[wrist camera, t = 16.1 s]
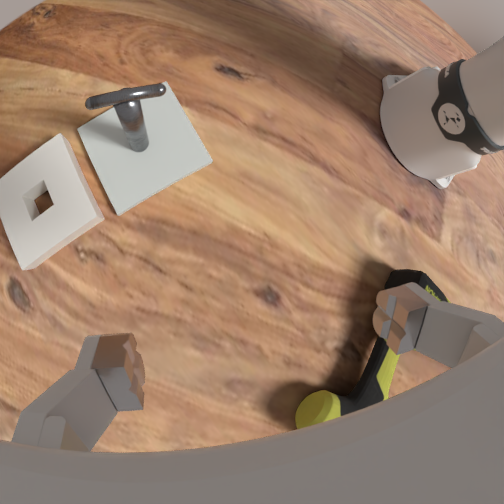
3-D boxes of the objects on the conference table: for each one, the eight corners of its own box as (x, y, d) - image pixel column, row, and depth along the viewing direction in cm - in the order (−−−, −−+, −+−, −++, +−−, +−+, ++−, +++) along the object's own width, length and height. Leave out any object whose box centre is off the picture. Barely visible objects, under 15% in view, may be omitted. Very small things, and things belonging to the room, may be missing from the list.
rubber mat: (166, 84, 29) (166, 81, 28) (212, 163, 30) (212, 161, 30) (79, 131, 27) (77, 128, 26) (119, 215, 28) (117, 215, 27)
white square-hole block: (69, 142, 27) (60, 132, 24) (104, 219, 28) (97, 216, 25) (3, 191, 25) (-10, 187, 22) (34, 268, 26) (22, 270, 23)
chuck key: (167, 129, 28) (165, 74, 18) (169, 147, 28) (167, 97, 18) (111, 139, 27) (84, 90, 16) (112, 157, 27) (83, 113, 16)
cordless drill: (464, 350, 41) (378, 467, 37) (393, 261, 37) (274, 415, 33) (492, 359, 34) (400, 489, 30) (429, 262, 30) (292, 446, 26)
